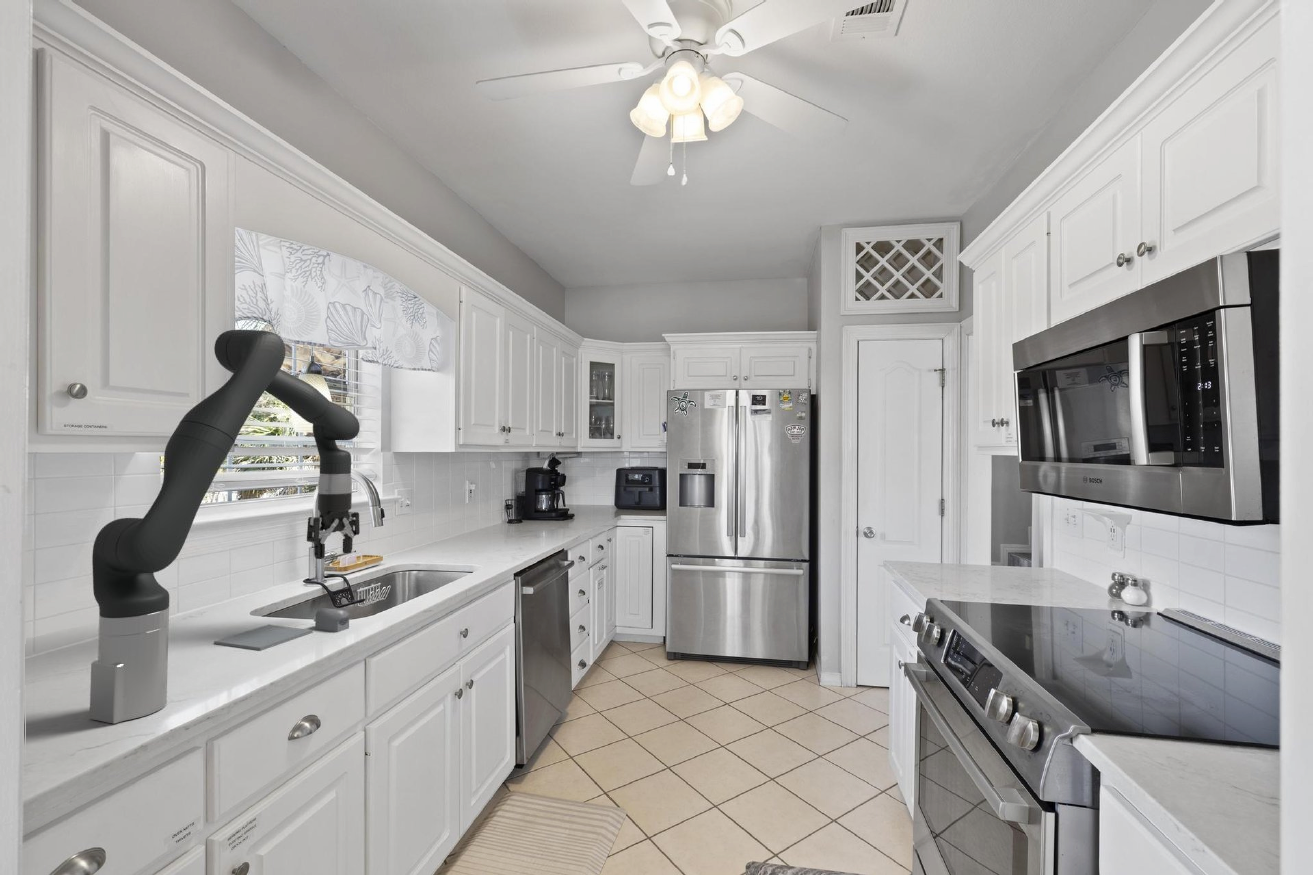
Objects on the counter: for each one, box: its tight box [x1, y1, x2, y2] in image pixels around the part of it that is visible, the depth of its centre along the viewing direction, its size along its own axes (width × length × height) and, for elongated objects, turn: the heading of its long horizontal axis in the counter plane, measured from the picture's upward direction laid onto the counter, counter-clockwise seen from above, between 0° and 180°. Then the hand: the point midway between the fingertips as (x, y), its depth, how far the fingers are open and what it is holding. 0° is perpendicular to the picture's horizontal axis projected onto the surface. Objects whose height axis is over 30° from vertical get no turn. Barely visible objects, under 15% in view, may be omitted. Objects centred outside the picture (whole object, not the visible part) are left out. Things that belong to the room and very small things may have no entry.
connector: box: [313, 607, 350, 633], centre depth 152 cm, size 4×8×5 cm, turn 73°
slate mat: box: [213, 624, 314, 651], centre depth 144 cm, size 14×14×1 cm
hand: (333, 555), depth 152 cm, fingers open, 8 cm apart
